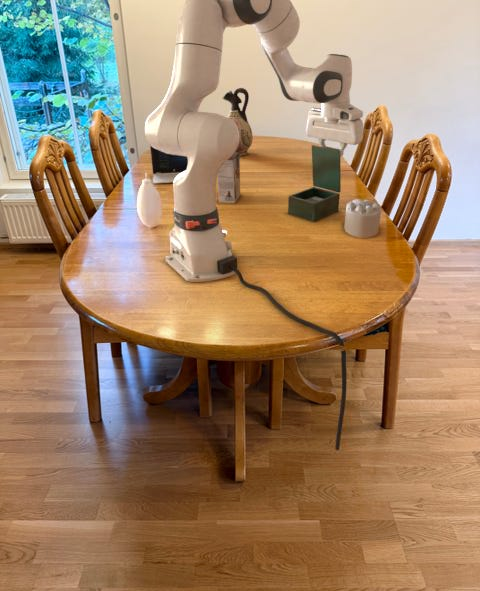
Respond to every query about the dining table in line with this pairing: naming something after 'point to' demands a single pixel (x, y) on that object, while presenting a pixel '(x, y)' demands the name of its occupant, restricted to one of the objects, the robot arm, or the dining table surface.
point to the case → (313, 204)
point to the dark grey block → (314, 199)
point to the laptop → (166, 166)
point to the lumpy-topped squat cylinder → (362, 218)
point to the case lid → (326, 168)
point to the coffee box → (229, 180)
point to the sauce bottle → (149, 204)
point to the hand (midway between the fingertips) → (331, 154)
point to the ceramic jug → (240, 119)
